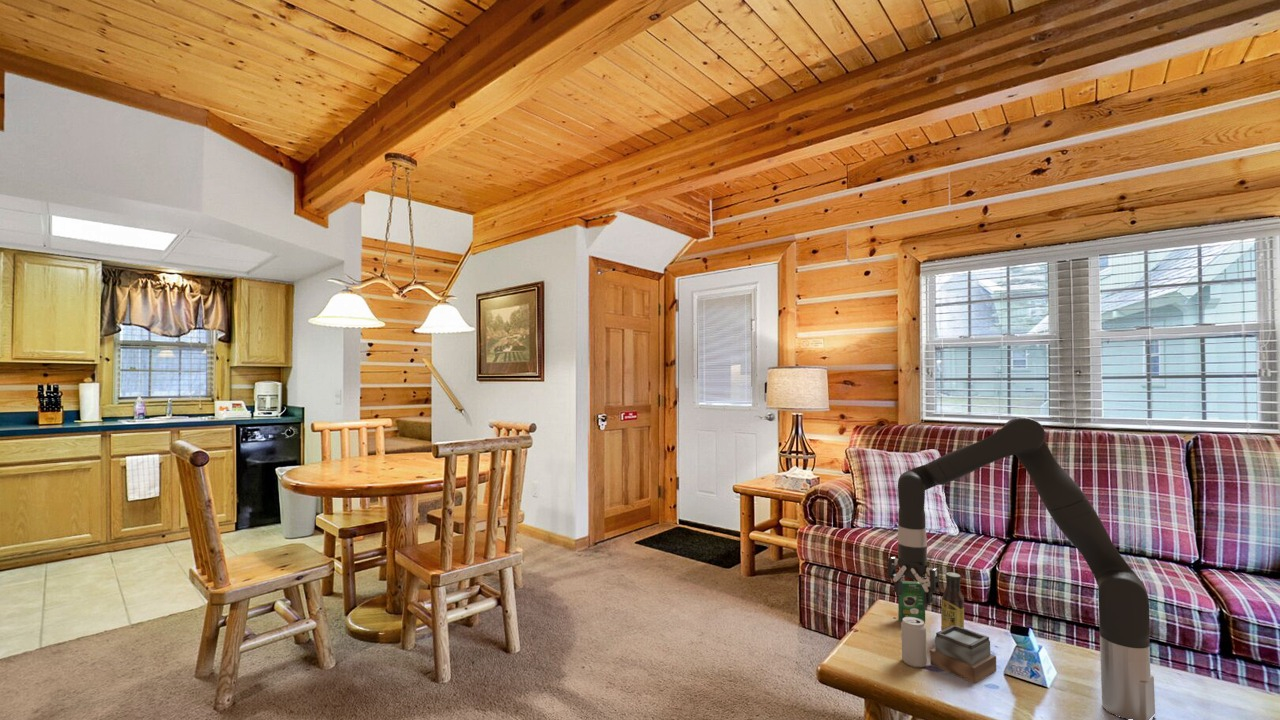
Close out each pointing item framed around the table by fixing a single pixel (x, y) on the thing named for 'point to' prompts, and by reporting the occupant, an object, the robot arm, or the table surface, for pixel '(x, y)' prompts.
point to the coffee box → (911, 601)
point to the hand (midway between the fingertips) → (912, 599)
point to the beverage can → (914, 642)
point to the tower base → (963, 666)
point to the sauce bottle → (952, 602)
